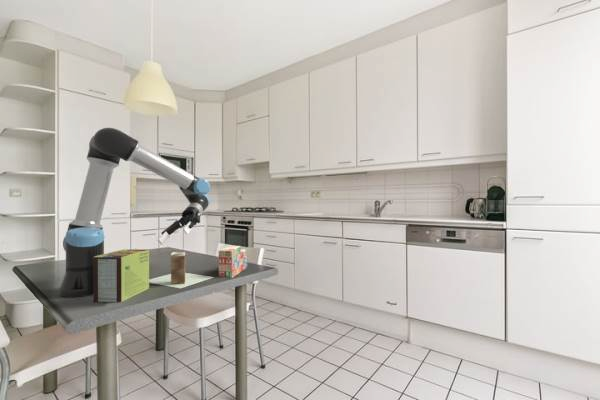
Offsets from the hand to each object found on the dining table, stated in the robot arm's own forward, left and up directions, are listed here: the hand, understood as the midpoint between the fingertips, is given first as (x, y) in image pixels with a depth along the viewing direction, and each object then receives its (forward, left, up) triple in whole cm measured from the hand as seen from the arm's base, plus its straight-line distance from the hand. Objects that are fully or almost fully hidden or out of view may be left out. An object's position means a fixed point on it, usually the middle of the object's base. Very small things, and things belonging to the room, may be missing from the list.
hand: (172, 237), depth 125 cm
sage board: (+3, +1, -18) cm, 19 cm away
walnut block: (+7, -3, -18) cm, 19 cm away
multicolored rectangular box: (+14, +23, -19) cm, 33 cm away
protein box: (+1, -22, -19) cm, 29 cm away
